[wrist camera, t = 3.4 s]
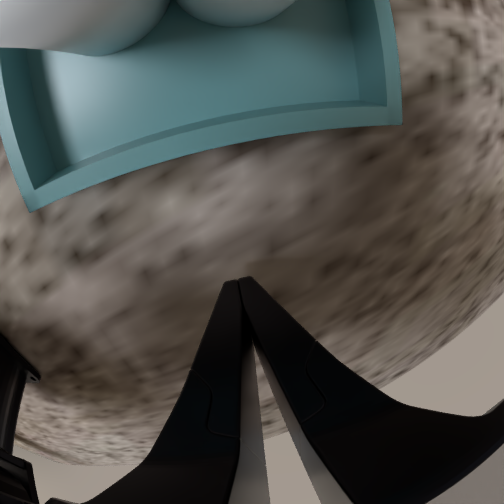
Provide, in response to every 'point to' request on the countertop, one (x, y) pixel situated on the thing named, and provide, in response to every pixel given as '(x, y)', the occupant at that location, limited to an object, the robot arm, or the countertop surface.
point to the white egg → (78, 24)
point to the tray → (194, 92)
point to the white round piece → (234, 11)
